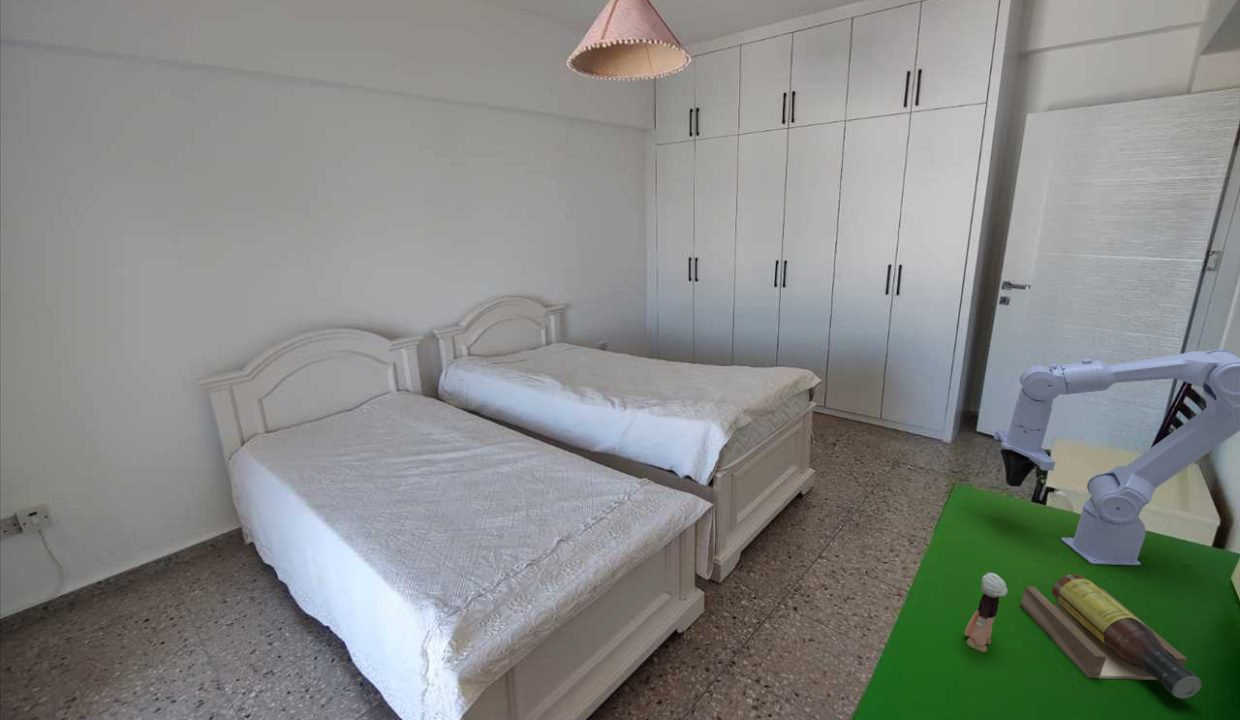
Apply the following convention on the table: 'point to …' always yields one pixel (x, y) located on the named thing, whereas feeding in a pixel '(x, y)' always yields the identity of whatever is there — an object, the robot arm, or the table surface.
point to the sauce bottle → (1123, 633)
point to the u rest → (1085, 640)
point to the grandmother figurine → (985, 612)
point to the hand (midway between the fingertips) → (1013, 484)
